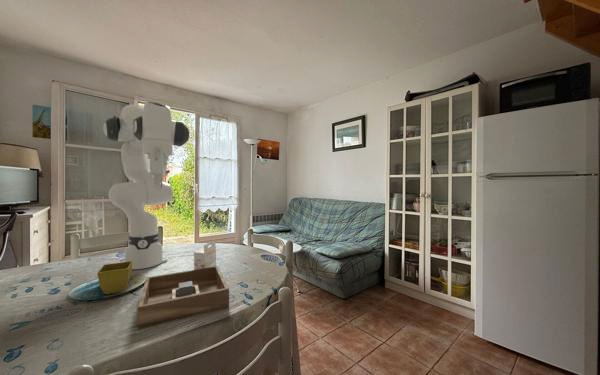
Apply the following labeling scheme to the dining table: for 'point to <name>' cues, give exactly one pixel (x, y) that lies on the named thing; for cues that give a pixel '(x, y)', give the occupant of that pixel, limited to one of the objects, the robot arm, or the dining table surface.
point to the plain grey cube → (185, 288)
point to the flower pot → (114, 277)
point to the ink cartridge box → (205, 256)
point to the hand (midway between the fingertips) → (158, 189)
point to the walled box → (169, 306)
